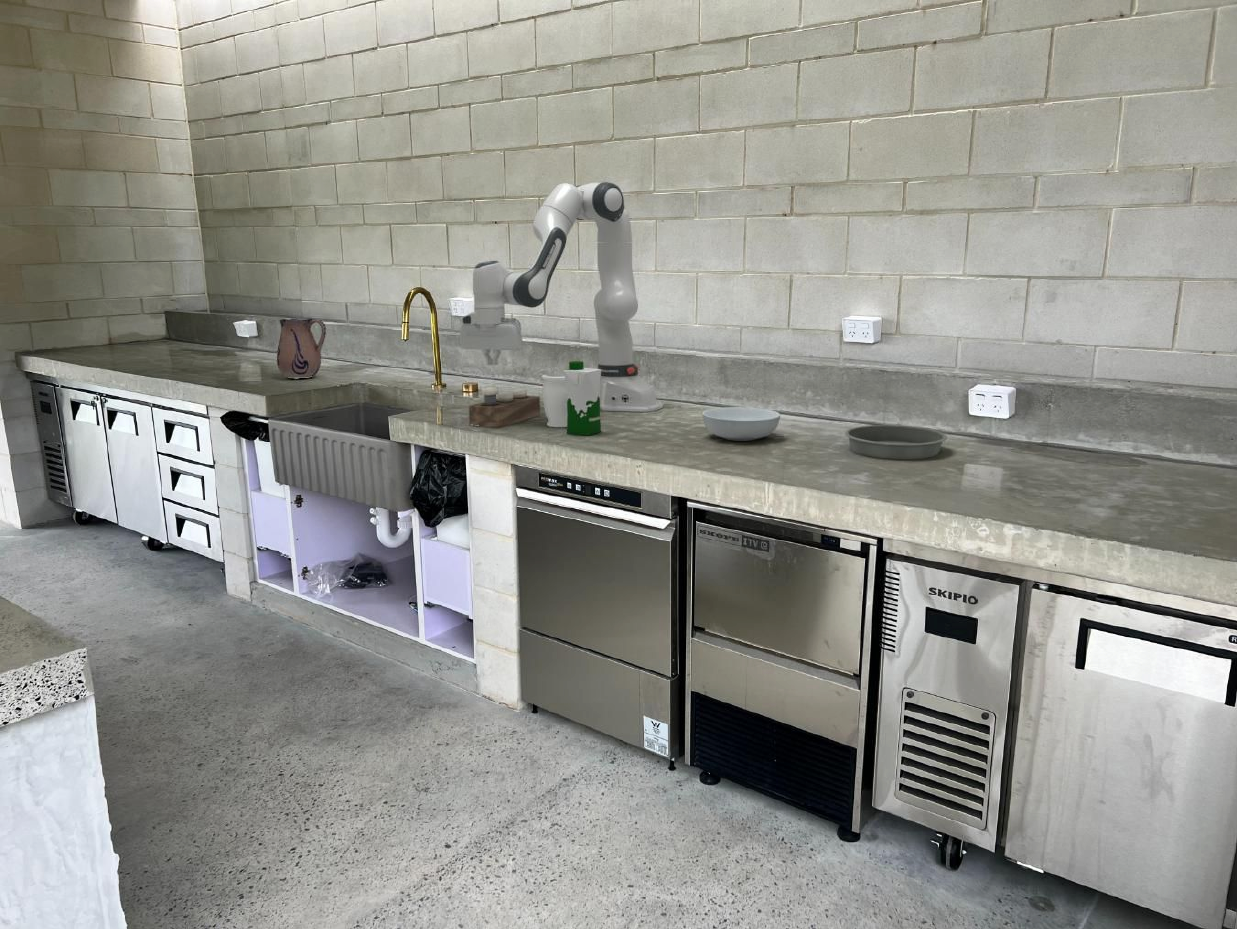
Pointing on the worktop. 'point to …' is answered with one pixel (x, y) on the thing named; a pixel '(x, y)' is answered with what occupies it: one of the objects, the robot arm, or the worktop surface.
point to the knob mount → (504, 412)
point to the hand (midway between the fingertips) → (492, 364)
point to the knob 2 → (519, 393)
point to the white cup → (555, 399)
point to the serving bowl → (741, 422)
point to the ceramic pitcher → (299, 348)
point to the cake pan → (895, 441)
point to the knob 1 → (490, 395)
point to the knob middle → (505, 397)
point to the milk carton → (583, 399)
